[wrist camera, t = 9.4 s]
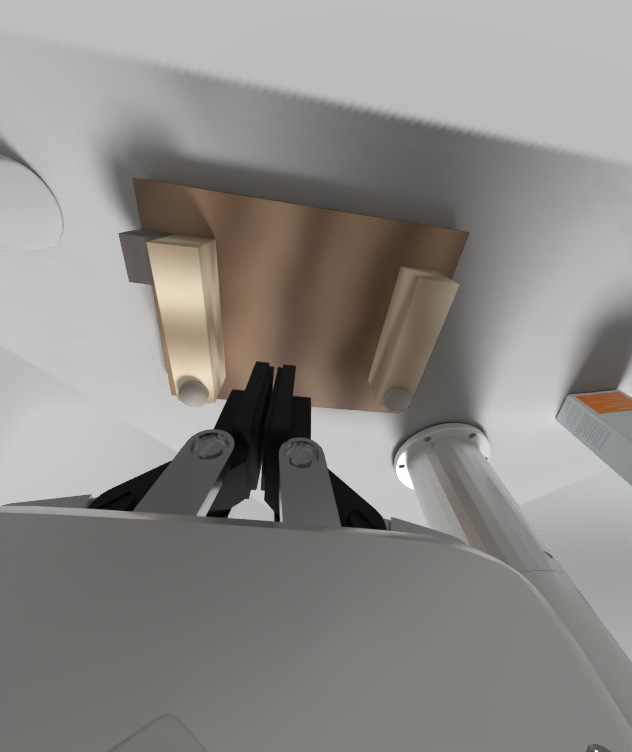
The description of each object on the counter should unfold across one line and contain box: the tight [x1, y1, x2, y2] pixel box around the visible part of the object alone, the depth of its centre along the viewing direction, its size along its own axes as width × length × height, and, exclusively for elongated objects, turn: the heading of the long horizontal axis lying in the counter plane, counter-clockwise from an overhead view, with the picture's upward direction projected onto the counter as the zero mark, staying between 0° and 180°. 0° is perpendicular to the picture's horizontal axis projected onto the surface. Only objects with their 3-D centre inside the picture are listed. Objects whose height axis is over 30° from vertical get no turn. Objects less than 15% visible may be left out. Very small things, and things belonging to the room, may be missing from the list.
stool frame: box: [119, 178, 469, 414], centre depth 23 cm, size 24×18×7 cm
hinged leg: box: [146, 235, 226, 407], centre depth 21 cm, size 12×3×5 cm, turn 173°
